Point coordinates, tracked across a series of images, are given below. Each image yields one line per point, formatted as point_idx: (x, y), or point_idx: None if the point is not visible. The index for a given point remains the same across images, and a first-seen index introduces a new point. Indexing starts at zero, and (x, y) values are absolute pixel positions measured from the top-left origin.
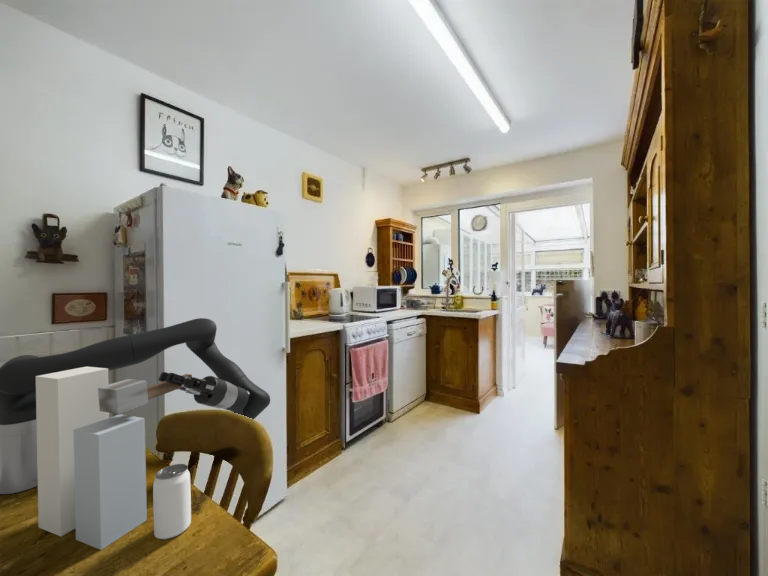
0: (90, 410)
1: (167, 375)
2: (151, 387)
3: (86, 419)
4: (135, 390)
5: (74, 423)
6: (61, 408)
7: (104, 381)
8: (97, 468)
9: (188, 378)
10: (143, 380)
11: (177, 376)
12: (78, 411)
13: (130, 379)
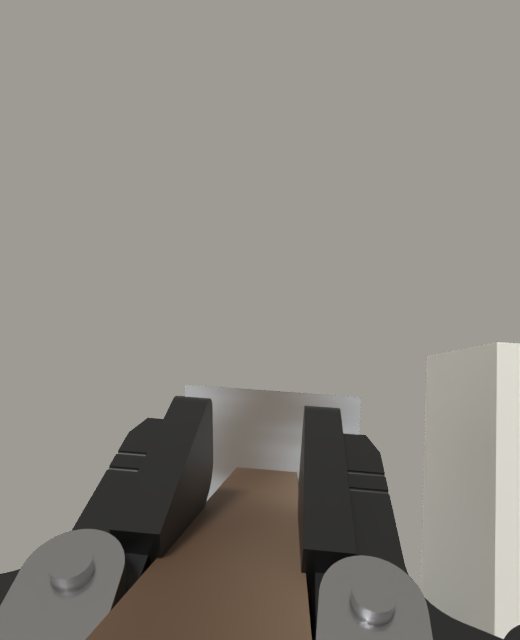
0: (457, 549)
1: (302, 461)
2: (244, 479)
3: (451, 584)
4: None
5: (435, 565)
6: (426, 472)
7: (486, 417)
8: None
9: (20, 595)
10: (215, 387)
11: (122, 450)
12: (441, 520)
13: (328, 395)
